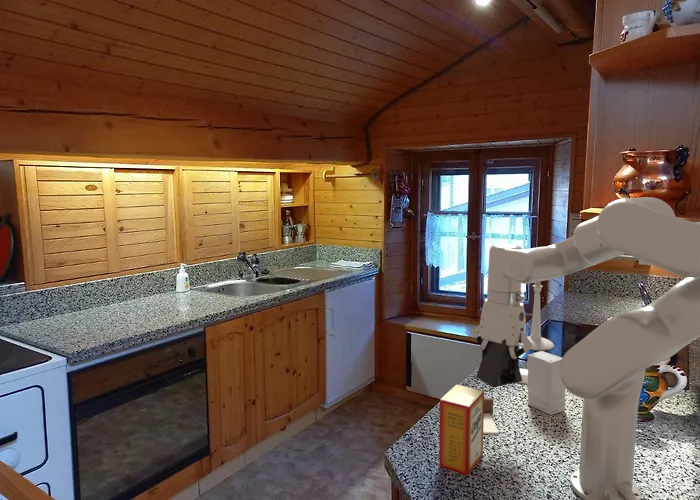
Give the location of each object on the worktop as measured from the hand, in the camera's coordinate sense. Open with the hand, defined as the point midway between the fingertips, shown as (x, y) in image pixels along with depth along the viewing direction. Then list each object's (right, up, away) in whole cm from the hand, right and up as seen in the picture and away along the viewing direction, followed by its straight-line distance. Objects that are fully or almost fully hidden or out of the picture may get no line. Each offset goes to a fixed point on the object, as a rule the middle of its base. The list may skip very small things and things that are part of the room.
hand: (499, 367), depth 120 cm
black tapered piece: (0, -3, 0) cm, 3 cm away
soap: (+18, -13, +36) cm, 43 cm away
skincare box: (+18, -15, +16) cm, 28 cm away
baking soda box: (-11, -19, -9) cm, 24 cm away
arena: (-3, -16, +8) cm, 18 cm away
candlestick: (+34, -8, +68) cm, 76 cm away
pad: (-3, -16, +8) cm, 18 cm away
